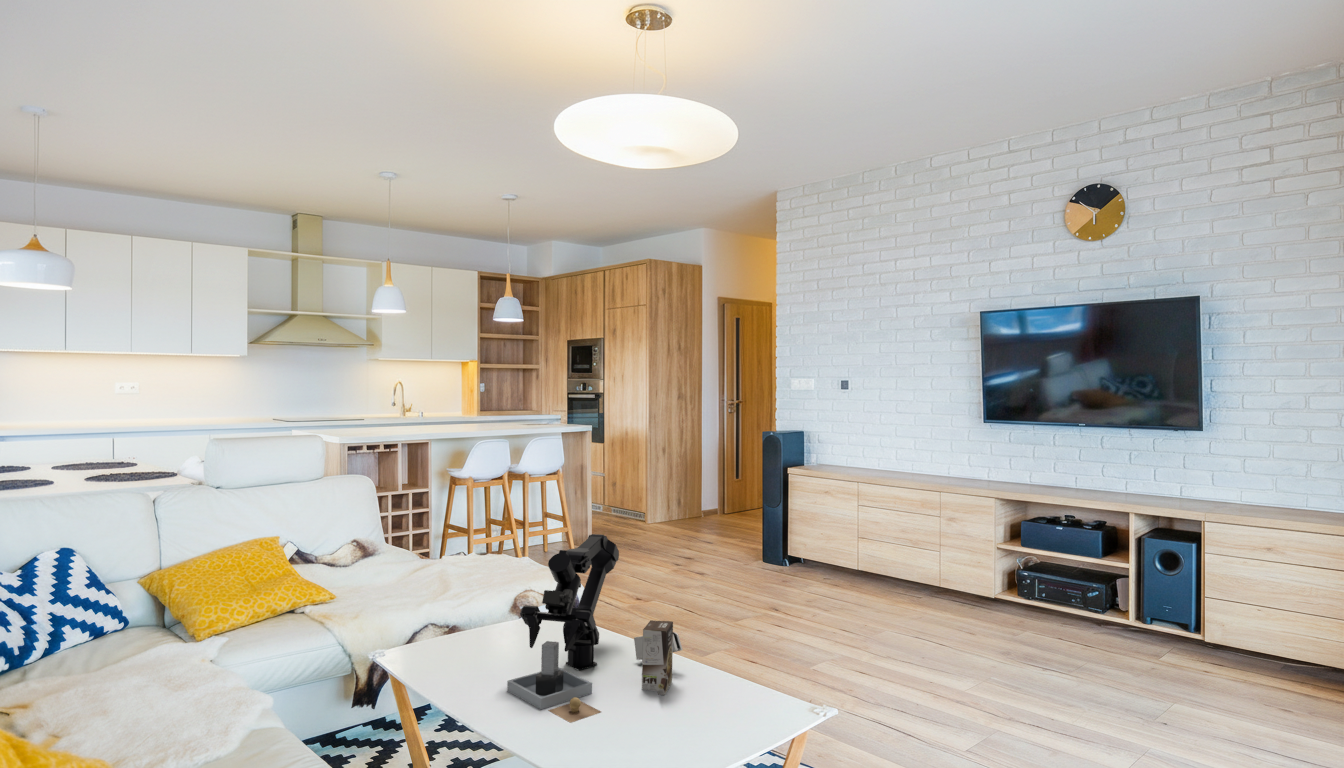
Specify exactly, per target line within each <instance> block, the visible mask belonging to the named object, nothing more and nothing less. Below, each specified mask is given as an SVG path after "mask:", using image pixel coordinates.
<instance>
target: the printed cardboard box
mask: <svg viewBox="0 0 1344 768" xmlns="http://www.w3.org/2000/svg"><path fill="white" fill-rule="evenodd" d="M633 643H634V647H635V649H634V650H635V659H636V660H637V661H639V660H642V655H643V635H640V636H635V637H633ZM683 650H684V649H683V646H682V643H681V638H680V636H679V634H678V632H675V631H673V653H677V652H680V651H683Z"/></svg>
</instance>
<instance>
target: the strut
mask: <svg viewBox="0 0 1344 768" xmlns="http://www.w3.org/2000/svg"><path fill="white" fill-rule="evenodd" d="M559 644H560V642H559V641H549V640H547V641H545V642H544V643H542V644H541V664H540V665H541V670H540V671H539V672H540V673H539V674H538V675H537V676H536V694H538V695H541V696H547V695H550V694H553V693H556V692H560V691H562V690H563V671H560V670H558V667H559V654H560V653H559V652H560V651H559V650H560V645H559Z"/></svg>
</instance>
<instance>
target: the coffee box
mask: <svg viewBox="0 0 1344 768" xmlns="http://www.w3.org/2000/svg"><path fill="white" fill-rule="evenodd" d="M673 632H674V621H669V620H649V622H648V623H647V624H646V625H645V626H644V628H643V629H642V636H643V655H642V663H641V669H642V670H641V690H642V691H643V690H644V691H653V692H657V694H658V695H659V696H666V694H667V692H668V690H669V688H670V687H671V685H672V684H673V653H674V652H673Z"/></svg>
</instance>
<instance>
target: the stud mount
mask: <svg viewBox="0 0 1344 768" xmlns="http://www.w3.org/2000/svg"><path fill="white" fill-rule="evenodd" d="M547 711H548V712H550V713H552V714H554V715H555V716H558V717H559V718H561V719H562V720H565V721H567V723H568V722H569V723H571V724H573V723H575V722H577V721H580V720H583V719H585V718H589V717H591V716H594V715H598V714H600V713H602V711H601V710H599V709H597V708H595V707H593V706H591V705H589V704H587V703H585V702H583V701H581V699H580V697H579V698H576V697H574V698H572V699H571V700H570V701H569V703H566V704H563V705H560V706H557V707H555V708H551V709H548V710H547Z"/></svg>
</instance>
